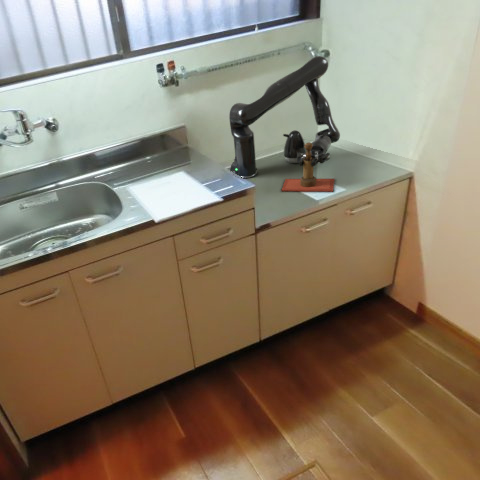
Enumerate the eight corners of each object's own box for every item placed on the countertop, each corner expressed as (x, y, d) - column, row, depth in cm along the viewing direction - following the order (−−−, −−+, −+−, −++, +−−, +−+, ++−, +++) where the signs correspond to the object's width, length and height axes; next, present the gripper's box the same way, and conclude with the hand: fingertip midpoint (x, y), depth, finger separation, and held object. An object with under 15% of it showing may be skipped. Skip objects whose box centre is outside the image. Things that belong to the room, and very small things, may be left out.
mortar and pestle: (317, 186, 166) (318, 144, 157) (300, 187, 168) (300, 146, 159) (315, 180, 172) (316, 139, 163) (299, 181, 174) (299, 141, 165)
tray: (281, 191, 170) (281, 190, 169) (285, 180, 179) (285, 178, 179) (332, 192, 161) (332, 190, 161) (334, 179, 171) (334, 178, 170)
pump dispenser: (281, 159, 201) (280, 129, 193) (302, 156, 199) (302, 125, 192) (286, 166, 192) (285, 135, 184) (308, 163, 191) (308, 131, 183)
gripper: (301, 140, 177) (288, 155, 165) (335, 141, 169) (325, 156, 157) (301, 156, 180) (289, 172, 169) (334, 158, 173) (324, 173, 161)
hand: (306, 164), depth 163 cm, fingers closed on mortar and pestle, 4 cm apart
